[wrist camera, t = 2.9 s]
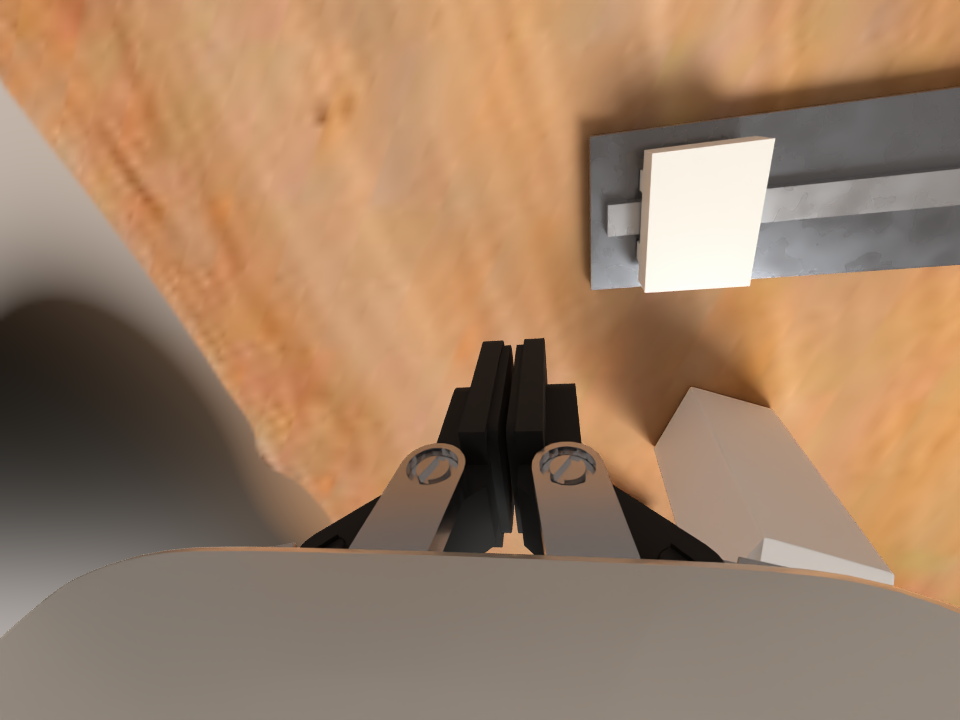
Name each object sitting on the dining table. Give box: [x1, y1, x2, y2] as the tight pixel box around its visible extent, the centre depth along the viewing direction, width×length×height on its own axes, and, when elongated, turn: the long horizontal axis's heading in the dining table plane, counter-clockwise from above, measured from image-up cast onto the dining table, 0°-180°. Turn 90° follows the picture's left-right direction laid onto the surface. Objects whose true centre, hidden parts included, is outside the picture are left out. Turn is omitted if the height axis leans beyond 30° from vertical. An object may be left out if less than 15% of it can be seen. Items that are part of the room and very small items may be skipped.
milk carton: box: [654, 387, 894, 585], centre depth 30 cm, size 7×7×19 cm
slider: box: [637, 136, 775, 293], centre depth 26 cm, size 6×8×4 cm
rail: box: [589, 86, 960, 290], centre depth 26 cm, size 28×10×5 cm, turn 97°
